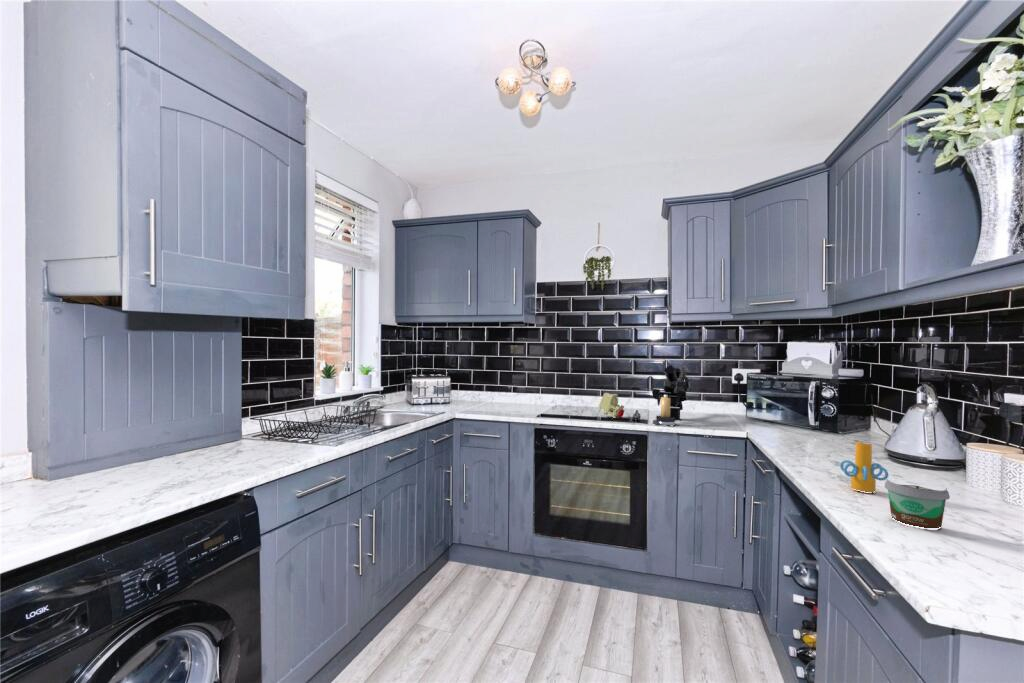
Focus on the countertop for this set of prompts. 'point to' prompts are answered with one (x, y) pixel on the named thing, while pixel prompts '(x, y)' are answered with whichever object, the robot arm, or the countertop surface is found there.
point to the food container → (916, 504)
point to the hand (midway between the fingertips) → (666, 406)
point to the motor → (664, 420)
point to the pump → (665, 406)
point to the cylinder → (863, 468)
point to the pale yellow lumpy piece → (611, 405)
